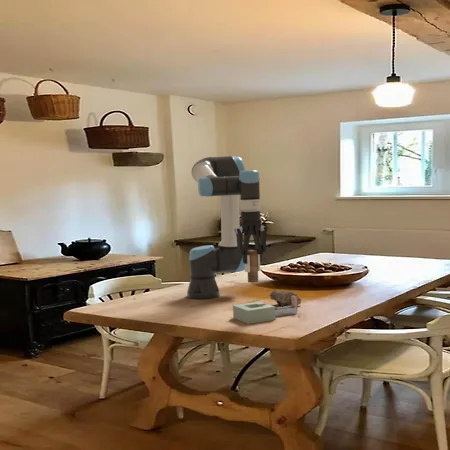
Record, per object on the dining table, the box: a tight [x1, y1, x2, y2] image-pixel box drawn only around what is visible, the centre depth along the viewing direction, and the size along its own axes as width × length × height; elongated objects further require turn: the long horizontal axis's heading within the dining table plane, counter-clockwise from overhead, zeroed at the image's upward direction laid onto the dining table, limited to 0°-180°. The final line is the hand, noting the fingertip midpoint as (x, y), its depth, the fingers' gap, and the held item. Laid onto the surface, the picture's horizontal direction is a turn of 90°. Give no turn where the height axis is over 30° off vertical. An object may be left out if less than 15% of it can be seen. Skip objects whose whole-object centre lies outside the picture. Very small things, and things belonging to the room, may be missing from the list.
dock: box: [232, 301, 276, 325], centre depth 238 cm, size 12×12×5 cm
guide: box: [275, 306, 298, 318], centre depth 244 cm, size 5×12×2 cm, turn 117°
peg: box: [247, 249, 259, 283], centre depth 237 cm, size 4×4×12 cm
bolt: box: [275, 296, 298, 310], centre depth 245 cm, size 2×9×6 cm, turn 117°
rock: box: [269, 289, 302, 307], centre depth 261 cm, size 7×11×10 cm
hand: (252, 271), depth 237 cm, fingers closed on peg, 4 cm apart
